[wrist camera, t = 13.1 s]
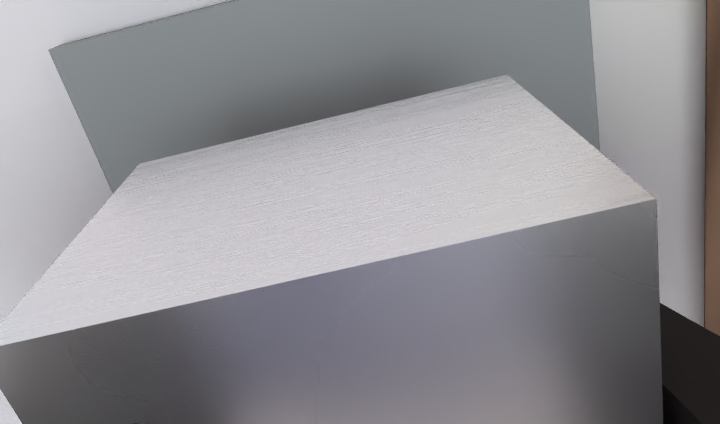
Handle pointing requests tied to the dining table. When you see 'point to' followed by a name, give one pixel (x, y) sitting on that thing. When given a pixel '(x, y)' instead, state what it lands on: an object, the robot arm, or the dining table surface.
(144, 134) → the mat
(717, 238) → the brown wooden board
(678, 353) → the robot arm
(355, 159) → the light grey block
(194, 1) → the dining table surface
